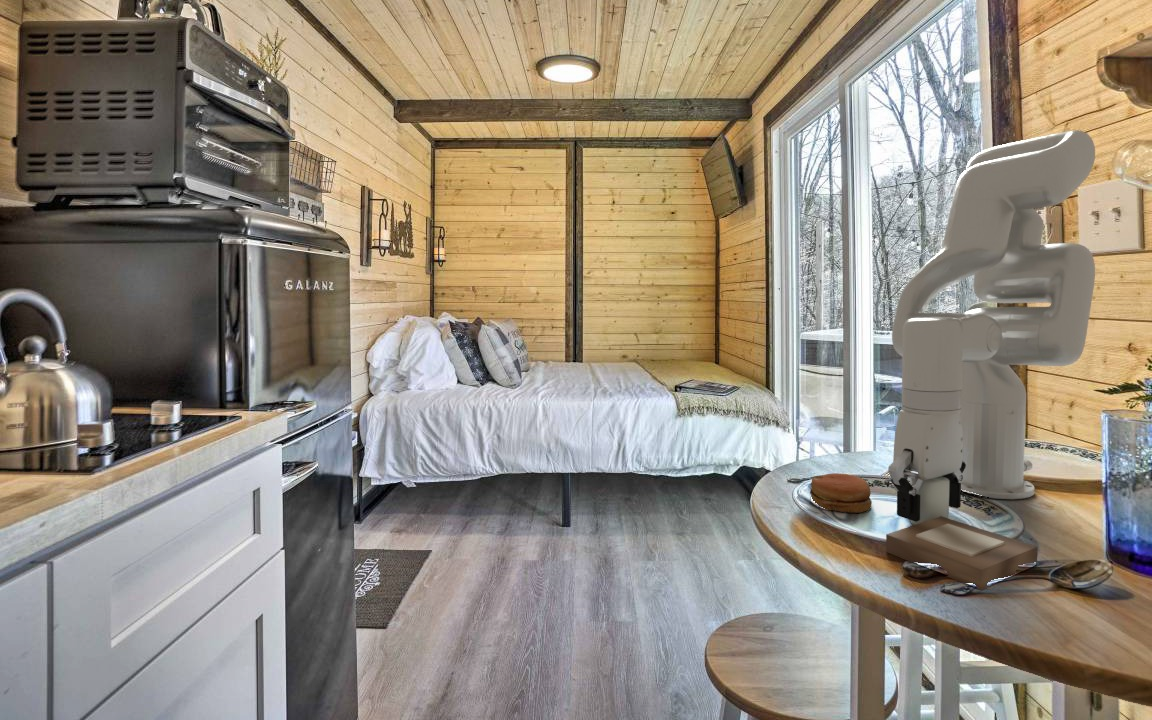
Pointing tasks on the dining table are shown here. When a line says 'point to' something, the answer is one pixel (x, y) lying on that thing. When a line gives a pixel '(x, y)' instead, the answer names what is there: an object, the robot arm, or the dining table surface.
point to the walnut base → (961, 550)
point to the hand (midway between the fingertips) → (928, 511)
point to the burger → (841, 492)
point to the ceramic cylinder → (933, 499)
